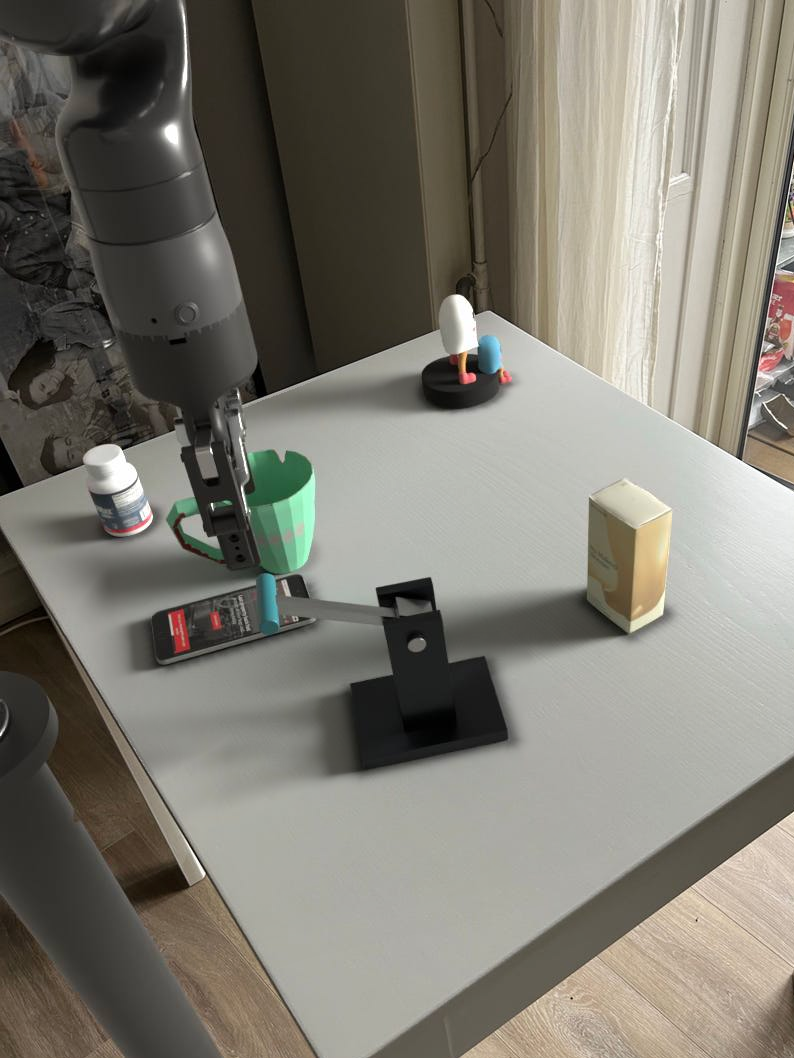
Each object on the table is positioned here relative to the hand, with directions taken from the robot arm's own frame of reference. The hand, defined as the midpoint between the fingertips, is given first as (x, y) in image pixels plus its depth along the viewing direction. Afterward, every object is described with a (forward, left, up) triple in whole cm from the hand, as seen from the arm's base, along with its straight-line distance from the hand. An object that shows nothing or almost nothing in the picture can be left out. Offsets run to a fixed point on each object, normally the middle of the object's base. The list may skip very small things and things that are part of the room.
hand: (243, 528), depth 67 cm
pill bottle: (-17, +37, -22) cm, 46 cm away
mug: (-3, +25, -22) cm, 34 cm away
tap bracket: (+10, 0, -22) cm, 24 cm away
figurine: (+24, +53, -22) cm, 62 cm away
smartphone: (-6, +17, -22) cm, 29 cm away
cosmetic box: (+30, +8, -22) cm, 38 cm away
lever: (+5, 0, -10) cm, 11 cm away
